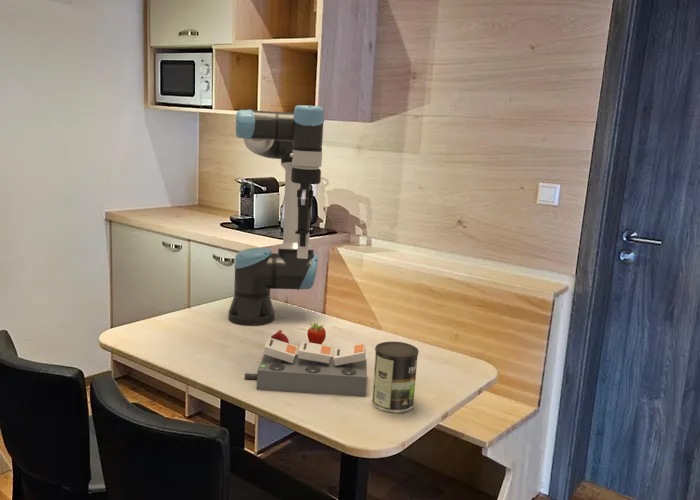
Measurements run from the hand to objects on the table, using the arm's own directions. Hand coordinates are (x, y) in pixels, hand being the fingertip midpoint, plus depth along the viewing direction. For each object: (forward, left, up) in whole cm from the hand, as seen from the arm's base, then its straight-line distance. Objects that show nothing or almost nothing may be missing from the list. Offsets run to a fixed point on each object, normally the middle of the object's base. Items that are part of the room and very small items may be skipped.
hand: (302, 257), depth 166 cm
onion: (-6, -6, -31) cm, 32 cm away
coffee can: (+19, +25, -31) cm, 44 cm away
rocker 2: (+7, +5, -23) cm, 25 cm away
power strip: (+10, +3, -30) cm, 32 cm away
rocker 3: (+7, +14, -23) cm, 28 cm away
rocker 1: (+7, -4, -24) cm, 25 cm away
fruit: (-15, +4, -31) cm, 34 cm away
